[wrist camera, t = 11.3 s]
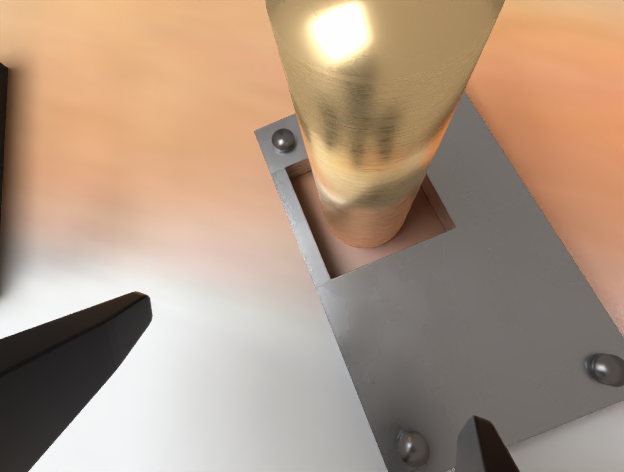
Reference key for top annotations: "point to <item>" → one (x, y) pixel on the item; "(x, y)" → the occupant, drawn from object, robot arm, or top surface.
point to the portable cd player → (2, 120)
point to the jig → (461, 308)
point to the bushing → (376, 97)
